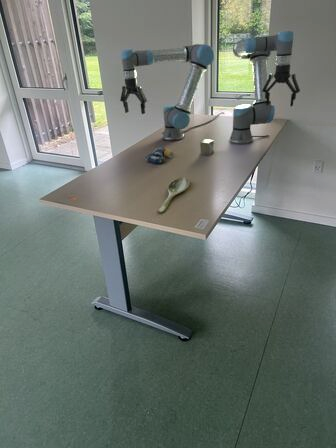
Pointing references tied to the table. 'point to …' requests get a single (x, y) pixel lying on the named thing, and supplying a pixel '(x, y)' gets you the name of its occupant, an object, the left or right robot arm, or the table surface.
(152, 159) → the blue toy gun
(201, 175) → the table surface
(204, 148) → the grey metal block
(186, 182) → the spoon
